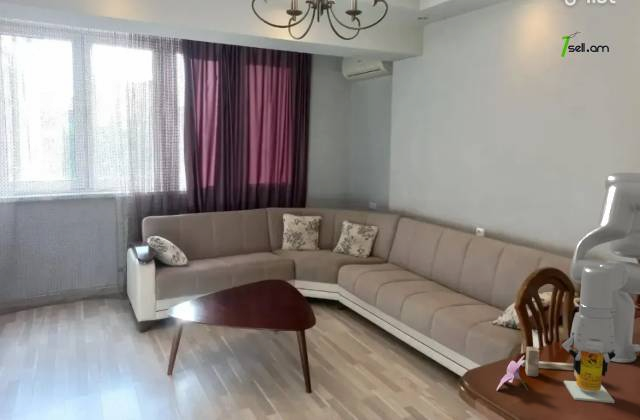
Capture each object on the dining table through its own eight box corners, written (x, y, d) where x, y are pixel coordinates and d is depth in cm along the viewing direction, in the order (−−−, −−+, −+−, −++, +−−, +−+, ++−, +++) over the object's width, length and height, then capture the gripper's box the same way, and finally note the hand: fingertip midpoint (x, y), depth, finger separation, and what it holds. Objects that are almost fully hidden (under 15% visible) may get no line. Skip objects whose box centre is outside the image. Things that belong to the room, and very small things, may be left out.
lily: (514, 378, 151) (499, 351, 151) (550, 378, 142) (533, 348, 142) (496, 403, 144) (480, 374, 144) (531, 404, 135) (514, 373, 134)
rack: (579, 368, 155) (581, 344, 154) (588, 380, 148) (590, 354, 147) (521, 364, 158) (523, 340, 157) (527, 375, 151) (528, 350, 150)
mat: (600, 385, 145) (600, 383, 145) (614, 402, 135) (614, 400, 135) (563, 382, 147) (563, 380, 147) (574, 399, 137) (574, 397, 137)
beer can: (579, 392, 138) (583, 340, 136) (573, 382, 144) (577, 332, 142) (603, 394, 137) (608, 342, 135) (596, 383, 143) (600, 333, 141)
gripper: (622, 308, 140) (617, 369, 143) (557, 304, 143) (553, 364, 145) (634, 317, 133) (628, 381, 135) (565, 313, 136) (560, 376, 138)
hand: (589, 372), depth 140 cm, fingers closed on beer can, 5 cm apart
